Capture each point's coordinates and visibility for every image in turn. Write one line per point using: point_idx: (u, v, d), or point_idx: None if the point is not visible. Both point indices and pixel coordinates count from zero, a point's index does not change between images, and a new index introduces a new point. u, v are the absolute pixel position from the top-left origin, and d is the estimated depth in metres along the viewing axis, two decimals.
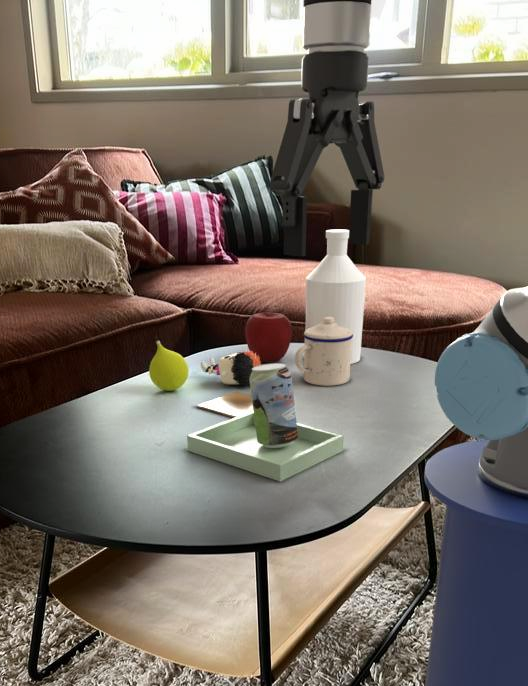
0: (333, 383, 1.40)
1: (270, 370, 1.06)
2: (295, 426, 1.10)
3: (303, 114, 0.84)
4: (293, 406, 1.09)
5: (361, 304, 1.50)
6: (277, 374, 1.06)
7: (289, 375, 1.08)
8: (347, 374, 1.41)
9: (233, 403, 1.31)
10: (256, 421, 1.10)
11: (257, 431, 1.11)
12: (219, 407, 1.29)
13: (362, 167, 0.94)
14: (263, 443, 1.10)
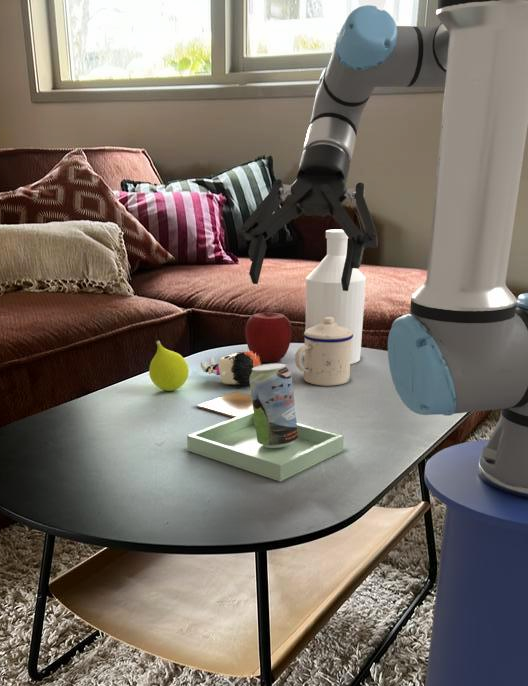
0: (333, 383, 1.40)
1: (270, 370, 1.06)
2: (295, 426, 1.10)
3: None
4: (293, 406, 1.09)
5: (361, 304, 1.50)
6: (277, 374, 1.06)
7: (289, 375, 1.08)
8: (347, 374, 1.41)
9: (233, 403, 1.31)
10: (256, 421, 1.10)
11: (257, 431, 1.11)
12: (219, 407, 1.29)
13: (345, 225, 1.10)
14: (263, 443, 1.10)
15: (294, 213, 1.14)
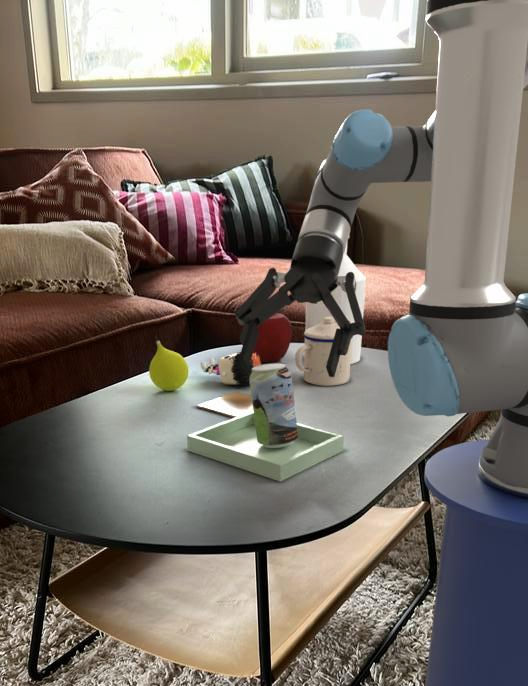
0: (333, 383, 1.40)
1: (270, 370, 1.06)
2: (295, 426, 1.10)
3: None
4: (293, 406, 1.09)
5: (361, 304, 1.50)
6: (277, 374, 1.06)
7: (289, 375, 1.08)
8: (347, 374, 1.41)
9: (233, 403, 1.31)
10: (256, 421, 1.10)
11: (257, 431, 1.11)
12: (219, 407, 1.29)
13: (333, 313, 1.12)
14: (263, 443, 1.10)
15: (287, 300, 1.17)
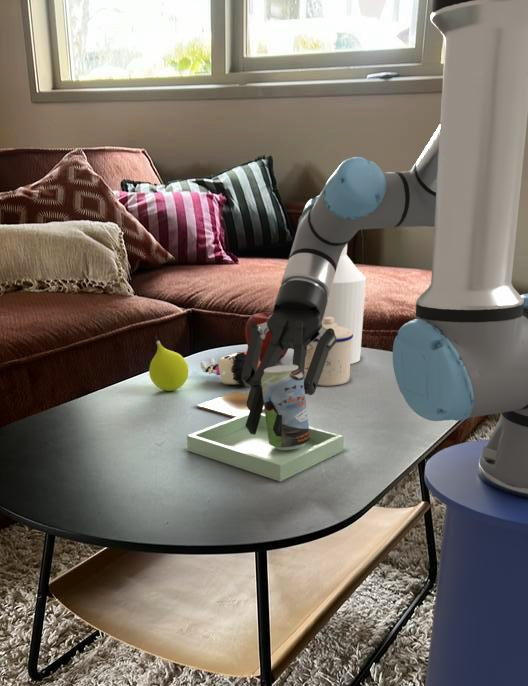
0: (333, 383, 1.40)
1: (283, 372, 1.05)
2: (307, 428, 1.10)
3: (250, 333, 1.14)
4: (305, 408, 1.09)
5: (361, 304, 1.50)
6: (290, 376, 1.05)
7: (301, 376, 1.07)
8: (347, 374, 1.41)
9: (233, 403, 1.31)
10: (268, 423, 1.09)
11: (269, 433, 1.10)
12: (219, 407, 1.29)
13: None
14: (275, 445, 1.09)
15: (280, 350, 1.13)
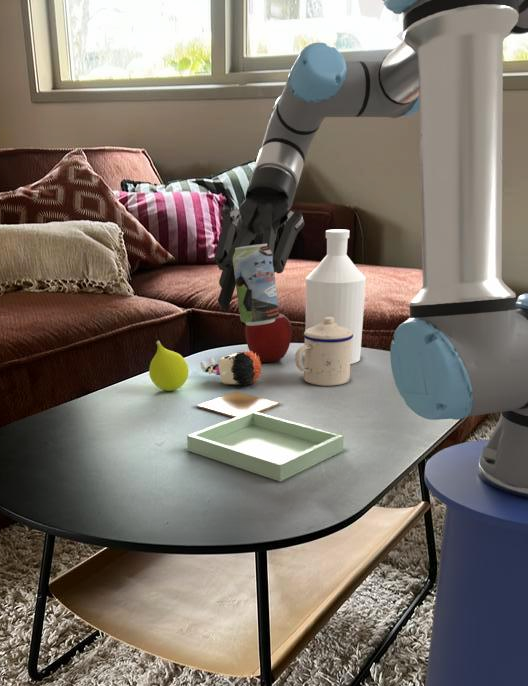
0: (333, 383, 1.40)
1: (252, 247, 1.12)
2: (276, 304, 1.16)
3: (223, 219, 1.21)
4: (274, 284, 1.16)
5: (361, 304, 1.50)
6: (260, 251, 1.12)
7: (270, 253, 1.14)
8: (347, 374, 1.41)
9: (233, 403, 1.31)
10: (239, 299, 1.16)
11: (240, 309, 1.17)
12: (219, 407, 1.29)
13: None
14: (246, 320, 1.16)
15: (251, 234, 1.20)
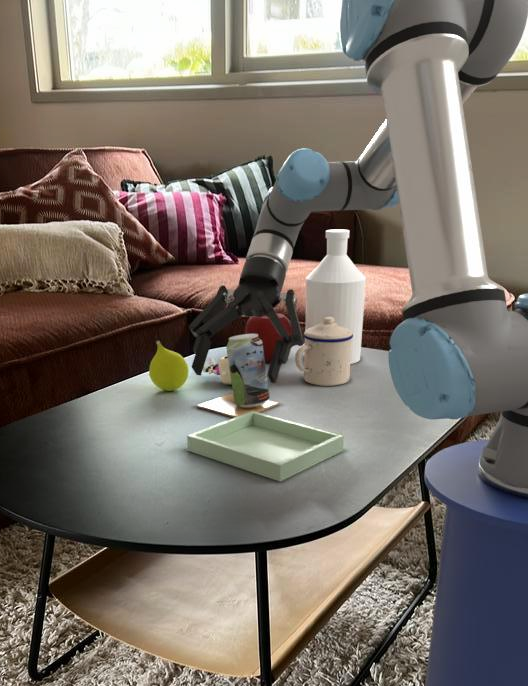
0: (333, 383, 1.40)
1: (244, 339, 1.23)
2: (267, 388, 1.27)
3: None
4: (265, 370, 1.26)
5: (361, 304, 1.50)
6: (251, 342, 1.23)
7: (261, 343, 1.25)
8: (347, 374, 1.41)
9: (233, 403, 1.31)
10: (233, 384, 1.27)
11: (234, 393, 1.27)
12: (219, 407, 1.29)
13: (275, 326, 1.26)
14: (239, 403, 1.27)
15: (235, 314, 1.31)
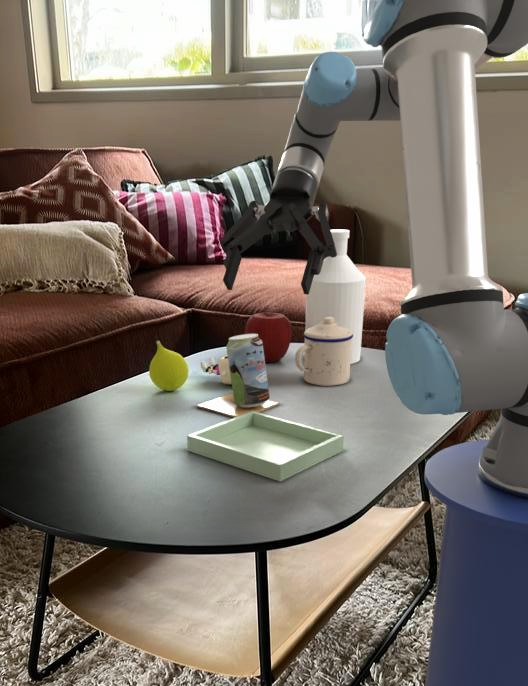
0: (333, 383, 1.40)
1: (244, 339, 1.23)
2: (267, 388, 1.27)
3: None
4: (265, 370, 1.26)
5: (361, 304, 1.50)
6: (251, 342, 1.23)
7: (261, 343, 1.25)
8: (347, 374, 1.41)
9: (233, 403, 1.31)
10: (233, 384, 1.27)
11: (234, 393, 1.27)
12: (219, 407, 1.29)
13: (308, 238, 1.25)
14: (239, 403, 1.27)
15: (266, 229, 1.30)
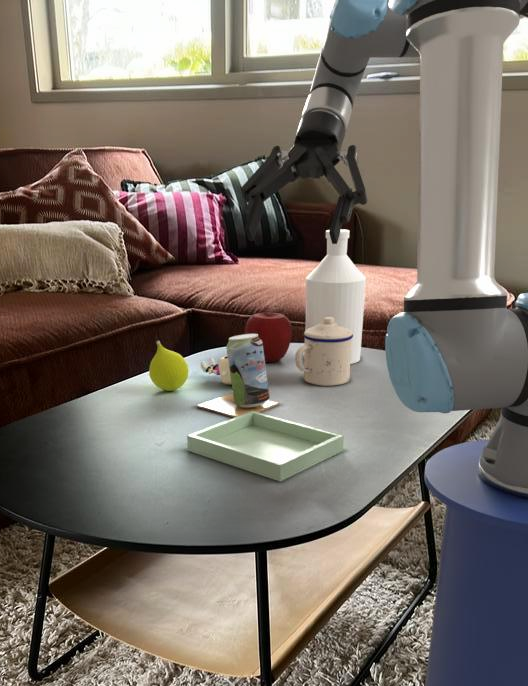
0: (333, 383, 1.40)
1: (244, 339, 1.23)
2: (267, 388, 1.27)
3: None
4: (265, 370, 1.26)
5: (361, 304, 1.50)
6: (251, 342, 1.23)
7: (261, 343, 1.25)
8: (347, 374, 1.41)
9: (233, 403, 1.31)
10: (233, 384, 1.27)
11: (234, 393, 1.27)
12: (219, 407, 1.29)
13: (336, 183, 1.16)
14: (239, 403, 1.27)
15: (290, 176, 1.21)
